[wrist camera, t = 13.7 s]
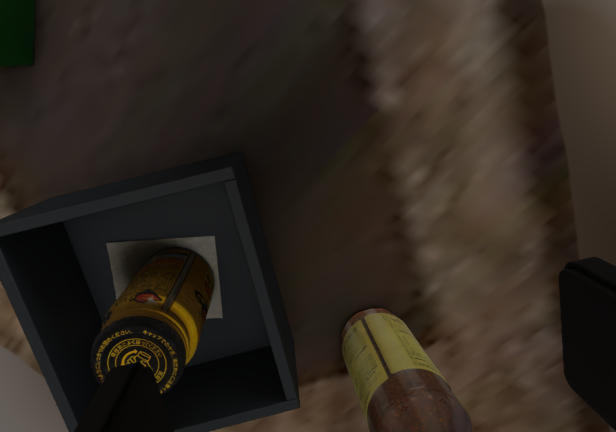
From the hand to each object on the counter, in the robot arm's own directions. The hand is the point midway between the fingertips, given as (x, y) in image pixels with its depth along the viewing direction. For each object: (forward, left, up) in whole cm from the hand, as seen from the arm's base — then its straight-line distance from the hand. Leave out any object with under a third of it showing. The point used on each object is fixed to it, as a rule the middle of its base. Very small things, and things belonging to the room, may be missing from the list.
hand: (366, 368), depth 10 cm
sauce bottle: (+16, +3, -27) cm, 32 cm away
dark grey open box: (+6, -12, -27) cm, 30 cm away
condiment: (+6, -12, -26) cm, 30 cm away
